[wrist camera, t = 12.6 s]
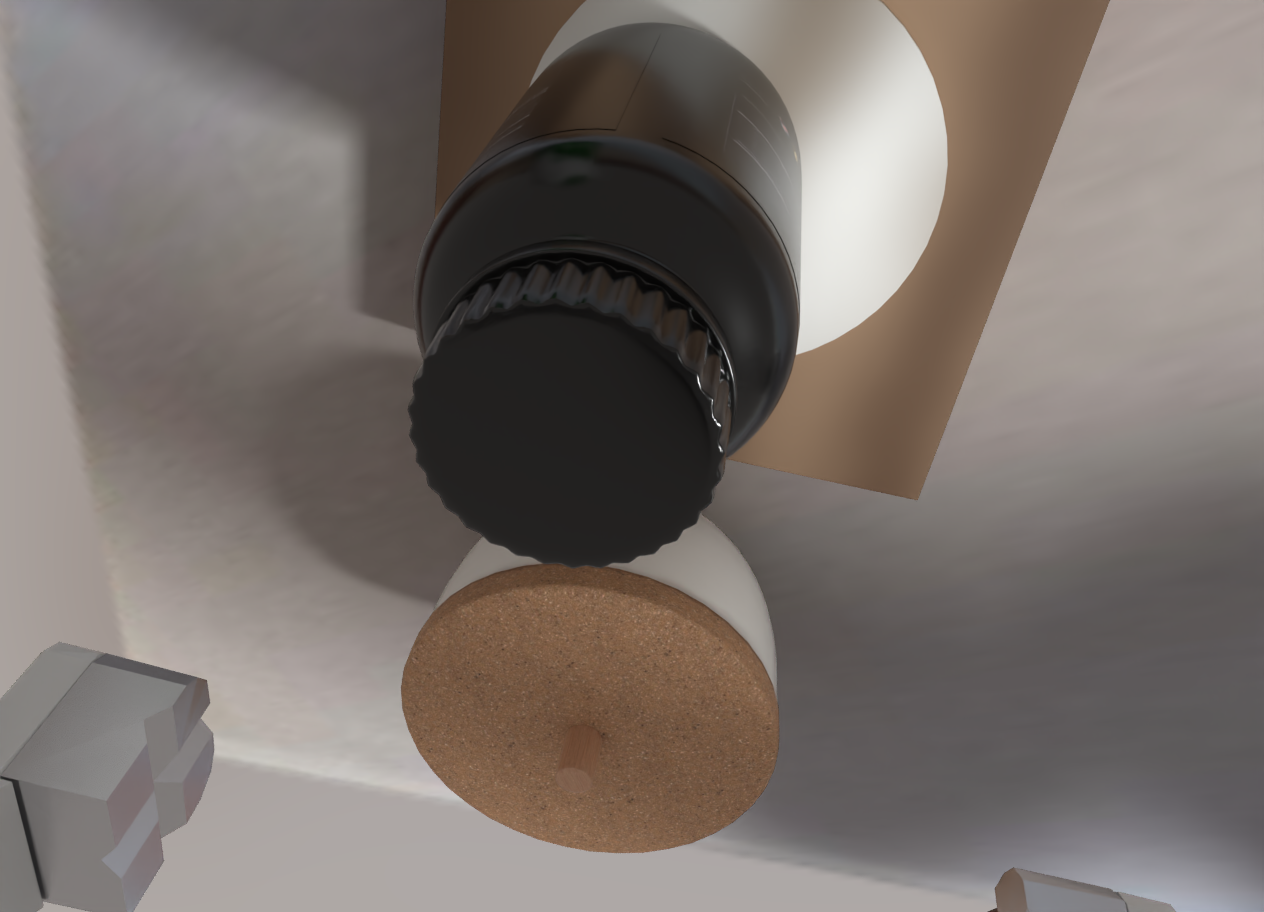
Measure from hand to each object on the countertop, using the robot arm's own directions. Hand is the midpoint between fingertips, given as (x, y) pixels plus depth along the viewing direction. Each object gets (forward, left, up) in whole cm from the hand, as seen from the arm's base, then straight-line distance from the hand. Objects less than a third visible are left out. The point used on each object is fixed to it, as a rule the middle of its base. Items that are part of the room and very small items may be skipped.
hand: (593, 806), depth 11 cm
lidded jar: (+1, +15, -22) cm, 26 cm away
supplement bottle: (+2, 0, -18) cm, 18 cm away
